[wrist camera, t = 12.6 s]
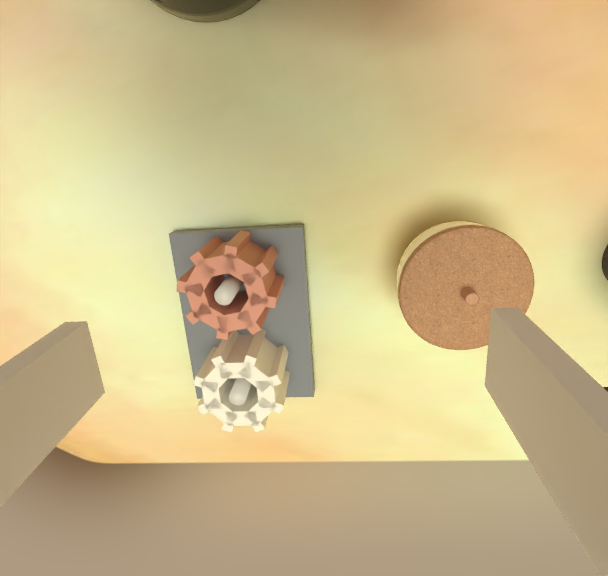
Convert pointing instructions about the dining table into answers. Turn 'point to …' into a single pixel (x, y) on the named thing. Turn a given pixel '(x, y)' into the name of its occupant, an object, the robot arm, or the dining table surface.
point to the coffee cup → (605, 263)
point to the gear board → (241, 343)
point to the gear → (243, 265)
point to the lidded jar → (461, 282)
